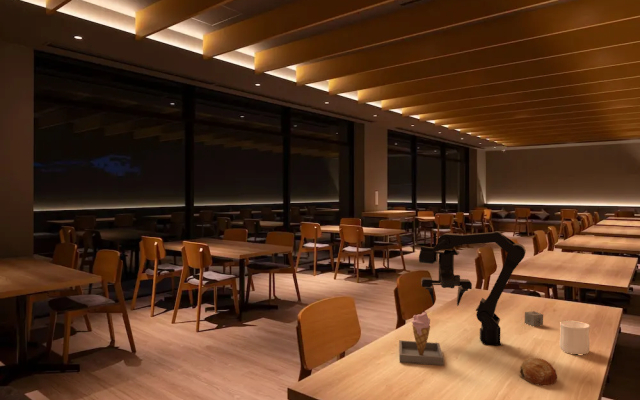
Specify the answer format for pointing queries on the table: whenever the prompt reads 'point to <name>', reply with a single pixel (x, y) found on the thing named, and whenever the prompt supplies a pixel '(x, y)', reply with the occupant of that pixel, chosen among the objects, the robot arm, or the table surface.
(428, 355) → the tray
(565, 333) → the cup
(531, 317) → the dice cube
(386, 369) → the table surface
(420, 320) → the ice cream cone
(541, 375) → the bread roll
